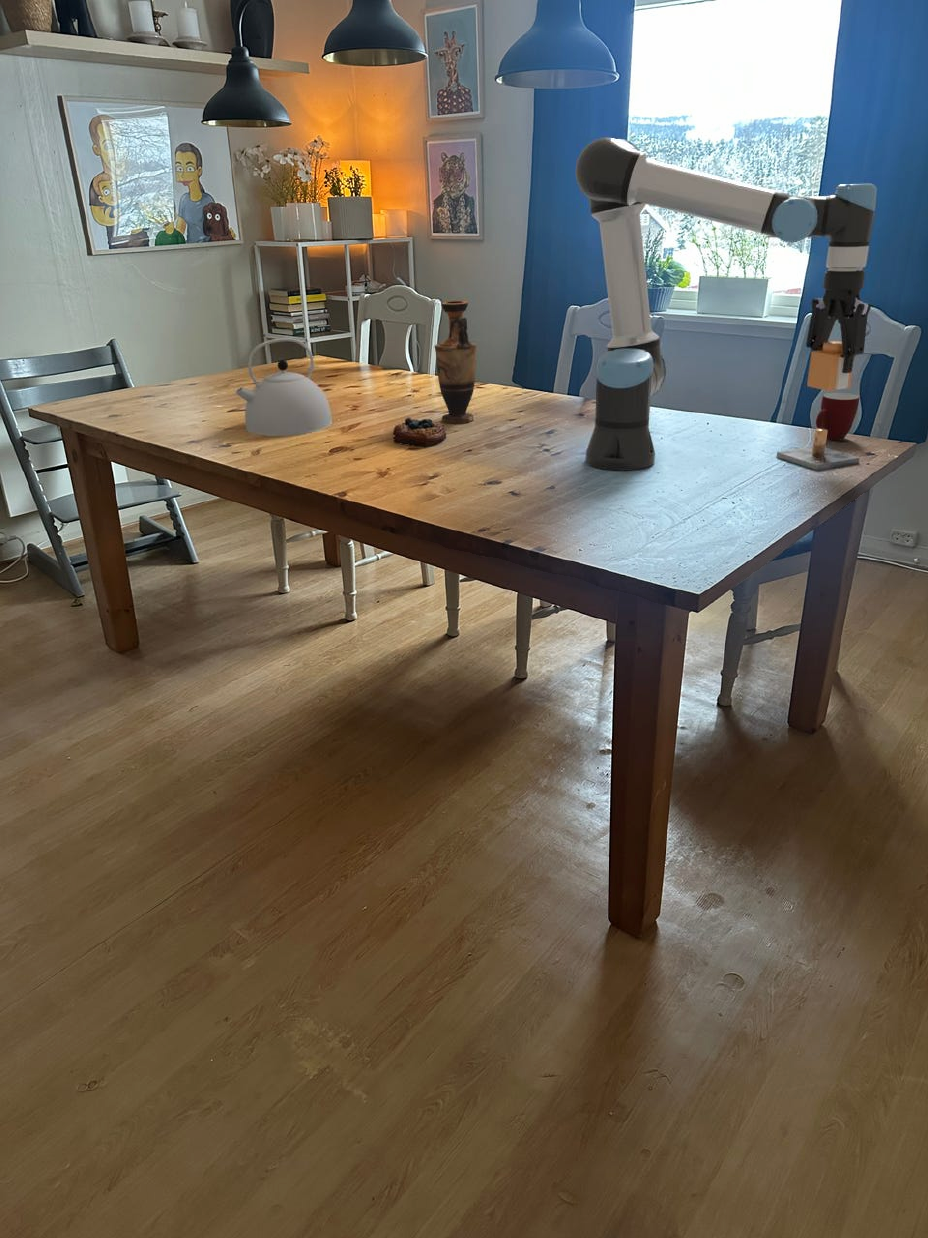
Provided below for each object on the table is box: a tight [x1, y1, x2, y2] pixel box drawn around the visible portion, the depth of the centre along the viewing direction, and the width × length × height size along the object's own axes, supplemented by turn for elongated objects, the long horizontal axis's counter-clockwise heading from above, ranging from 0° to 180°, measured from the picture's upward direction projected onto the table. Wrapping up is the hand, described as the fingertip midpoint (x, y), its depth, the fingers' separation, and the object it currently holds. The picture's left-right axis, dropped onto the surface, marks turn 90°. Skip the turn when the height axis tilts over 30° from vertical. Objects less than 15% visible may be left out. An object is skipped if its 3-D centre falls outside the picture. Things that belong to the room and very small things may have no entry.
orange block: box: [806, 340, 856, 392], centre depth 187 cm, size 6×6×9 cm
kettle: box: [234, 337, 333, 437], centre depth 233 cm, size 25×23×22 cm
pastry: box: [392, 417, 447, 448], centre depth 219 cm, size 11×12×6 cm
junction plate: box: [776, 428, 860, 472], centre depth 195 cm, size 12×12×7 cm
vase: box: [434, 300, 478, 425], centre depth 232 cm, size 11×11×30 cm
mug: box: [815, 392, 860, 441], centre depth 210 cm, size 10×8×10 cm
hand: (828, 385), depth 189 cm, fingers closed on orange block, 6 cm apart
